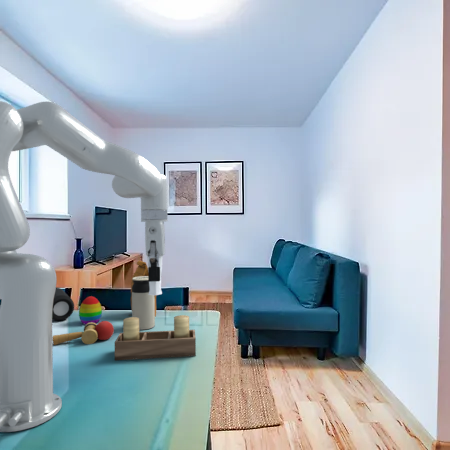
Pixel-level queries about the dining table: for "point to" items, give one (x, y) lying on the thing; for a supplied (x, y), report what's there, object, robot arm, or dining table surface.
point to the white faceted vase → (156, 285)
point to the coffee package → (141, 271)
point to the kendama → (88, 333)
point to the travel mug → (143, 303)
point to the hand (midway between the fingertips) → (155, 279)
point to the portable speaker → (62, 305)
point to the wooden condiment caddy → (155, 341)
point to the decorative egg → (90, 310)
